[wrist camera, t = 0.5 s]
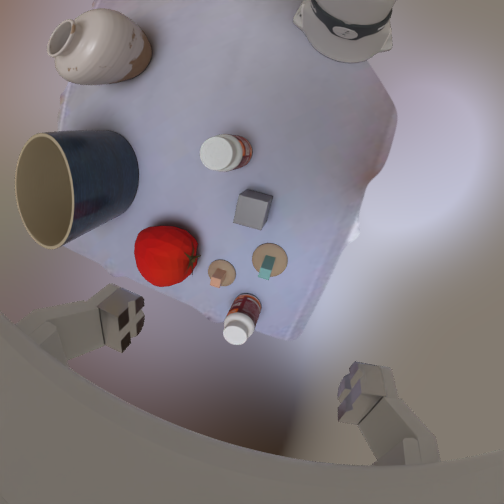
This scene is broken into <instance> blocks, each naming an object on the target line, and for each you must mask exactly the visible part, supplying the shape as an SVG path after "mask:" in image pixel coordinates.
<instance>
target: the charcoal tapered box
mask: <svg viewBox="0 0 504 504" xmlns="http://www.w3.org/2000/svg"><path fill="white" fill-rule="evenodd" d="M272 198H273V196H270V195H267V194H263V193H259V192H255V191H251V190H245V191H244V192H242V193H241V194H239V197H238V202H237V206H236V211H235V216H234V221H233V223H236V224H240V225H243V226H247V227H251V228H254V229H258V230H262V228H263V227H264V225H265V223H266V222H267V218H268V214H269V210H270V206H271V202H272Z"/></svg>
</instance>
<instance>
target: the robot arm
mask: <svg viewBox="0 0 504 504" xmlns="http://www.w3.org/2000/svg"><path fill="white" fill-rule="evenodd" d="M395 2H396V0H303V2H302V4H301V5H300V7H299V9H298V11H297V12H296V14H295V16H294V18H293V23H294V24H295V25H296V26H297V27H298V28H299V29H301V30H302V31H303V32H304V33H305V35H306V37H307V38H308V40H309V42H310V43H311V44H312V46H313V47H314V48H315V49H316V50H317V51H319V52H320V53H321V54H323V55H325V56H326V57H328V58H331V59H333V60H336V61H340V62H346V63H357V62H362V61H365V60H368V59H369V58H371V57H372V56H374V55H375V54H377V53H379V52H385V51H389V50H391V48H392V35H391V31H392V29H391V27H390V18H391V14H392V7H393V5H394V3H395ZM300 16H301V17H300ZM142 307H144V298H143V297H142V296H140V295H138V294H135V293H133V292H131V291H129V290H126V289H124V288H121V287H119V286H117V285H115V284H108V285H107V286H106V287H104V288H103V289H102V290H100V291H99V292H98V293H96V294H95V295H94V296H93V297H91V298H90V299H89V300H88V301H86V302H85V301H84V300H83V301H77V302H72V303H67V304H62V305H57V306H52V307H46V308H41V309H36V310H33V311H32V312H31V313H29V314H28V315H27V316H26V317H24V318H23V319H22V320H21V321H19V322H18V323H17V324H13V323H12V322H11V321H10V320H9V319H8V318H7V317H6V316H5V315H4V314H3V313H2V312H1V311H0V504H504V450H495V451H492V452H488V453H484V454H480V455H476V456H471V457H466V458H461V459H455V460H449V461H442V462H441V461H440V456H439V450H438V445H437V441H436V437H435V435H434V434H433V433H432V432H431V431H430V430H429V429H428V428H427V426H426V425H425V424H424V423H423V422H422V421H421V420H420V419H419V417H418V416H417V415H416V414H415V413H414V412H413V411H412V410H411V409H410V407H409V406H408V405H407V404H406V403H405V402H404V401H403V400H402V399H399V398H398V394H397V389H396V385H395V381H394V376H393V373H392V369H391V368H390V367H385V366H377V365H372V364H366V363H361V362H356V361H355V362H354V363H353V364H352V365H351V367H350V368H349V371H350V373H349V374H347V375H346V376H344V377H343V379H342V381H341V382H340V386H339V388H338V400H339V401H340V403H341V404H340V406H339V407H338V422H343V423H349V424H355V425H358V428H359V429H360V431H361V433H362V435H363V436H364V438H365V440H366V442H367V443H368V445H369V447H370V449H371V450H372V452H373V454H374V456H375V457H376V459H377V461H376V462H374V463H373V464H372V465H370V466H365V465H345V464H333V463H323V462H314V461H307V460H301V459H295V458H289V457H283V456H278V455H273V454H269V453H264V452H260V451H255V450H252V449H248V448H244V447H240V446H236V445H233V444H229V443H226V442H223V441H220V440H216V439H213V438H210V437H207V436H204V435H202V434H198V433H196V432H193V431H190V430H188V429H185V428H183V427H180V426H178V425H175V424H173V423H170V422H168V421H165V420H163V419H161V418H158V417H156V416H154V415H152V414H150V413H148V412H145V411H143V410H141V409H139V408H137V407H135V406H133V405H131V404H129V403H127V402H125V401H124V400H122V399H120V398H118V397H116V396H114V395H112V394H111V393H109V392H107V391H105V390H104V389H102V388H100V387H99V386H97V385H95V384H94V383H92V382H90V381H89V380H87V379H86V378H84V377H82V376H81V375H79V374H78V373H76V372H75V371H73V370H72V369H70V367H69V364H68V362H67V360H70V359H72V358H75V357H78V356H80V355H83V354H85V353H88V352H90V351H93V350H95V349H98V348H100V347H103V346H104V345H106V346H108V347H110V348H112V349H114V350H116V351H118V352H121V353H123V352H124V350H125V349H126V348H127V347H128V346H129V345H130V344H131V338H132V337H136V336H137V335H138V334H139V333H140V332H141V330H142V327H143V325H144V320H145V318H144V317H145V315H144V313H143V311H142V310H141V309H142Z"/></svg>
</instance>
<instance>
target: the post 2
mask: <svg viewBox="0 0 504 504" xmlns="http://www.w3.org/2000/svg"><path fill="white" fill-rule="evenodd" d="M252 262H253V266H254V267H255V269H256V270H257V271H258V272H259V275H258V277H260V278H263V279H266V280H269V278H270V277H273V276H277V275H279V274H281V273H282V272H283V271H284V270H285V268H286V266H287V255H286V253H285V251H284V250H283V249H282V248H281V247H280V246H278V245H276V244H273V243H265V244H262V245H260V246H259V247H257V249H256V250H255V251H254V253H253V256H252Z"/></svg>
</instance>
